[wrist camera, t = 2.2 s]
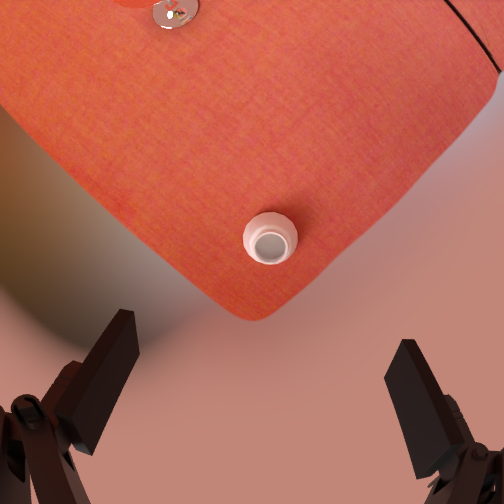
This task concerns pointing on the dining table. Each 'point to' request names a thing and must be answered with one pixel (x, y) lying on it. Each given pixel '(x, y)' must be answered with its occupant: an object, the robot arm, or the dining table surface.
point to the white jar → (270, 238)
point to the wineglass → (166, 10)
